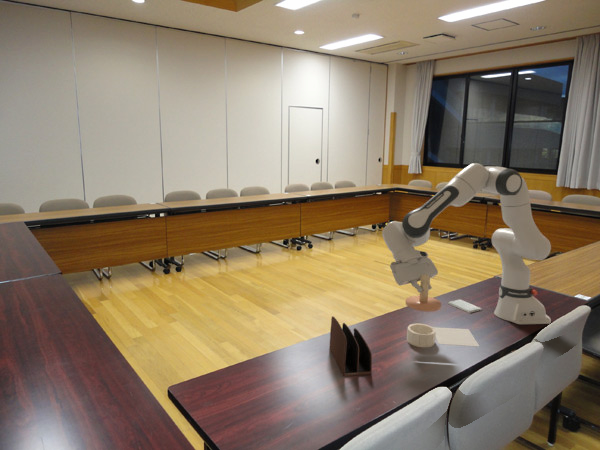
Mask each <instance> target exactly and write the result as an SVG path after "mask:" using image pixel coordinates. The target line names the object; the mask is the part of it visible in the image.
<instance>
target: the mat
mask: <svg viewBox="0 0 600 450" xmlns="http://www.w3.org/2000/svg"><path fill="white" fill-rule="evenodd" d="M432 327H433V328H434V329H435V331H436V335H435V340H436V341H437V343H438V345H447V346H464V347H465V346H466V347H480V345H479V343H478V342H477V340H476V339H475V337H474V335H473V334H472V332H471V331H470V329H469V328H453V327H450V328H449V327H437V326H436V327H435V326H432Z"/></svg>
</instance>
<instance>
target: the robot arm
mask: <svg viewBox="0 0 600 450" xmlns="http://www.w3.org/2000/svg"><path fill="white" fill-rule="evenodd" d="M480 191H482V192H486V193H488V194H491V195H493V194H494V195H499V196H500V199H499V200H500V208H501V209H500V210H501V216H502V221H503V222H504V224H505V225H506V226H507V227H504V228H503V227H502V228H500V227H499V228H498V229H496V230H495V231H494V232H493V233H492V234H491V244H492V246H493V247H494V249H495V250H496V252H497V253H498V255H499V257H500V262H501V267H502V268H501V269H502V271H501V282H500V284H499V289H498V300H497V304H496V307H495V309H494V312H493V314H494V315H495V316H496V317H498V318H499V319H502V320H504V321H507V322H512V323H514V324H517V325H546V324H547V325H549V324H551V323H552V320H551V317H550V316H549V315H547V314H546V307H545V305H544V304H543V303H542V302H541V301H539V300H538V298H536V297H535V296H537V295H538V291H537V290H536V289H533V288H532V287H530V282H531V274H532V273H531V272H532V271H531V269H530V267H529V266H528V265H527V264H526V263H525V261H524V259H523V258H525V259H526V260H531V261H532V260H535V261H536V260H537V261H543V260H545V259H546V258H547V257H548V256H549V255H550V253H551V250H552V245H551V242H550V240H549V239H548V238H547V237H546V236H545V235H544V234H542V232H541V231H540V229H539V227H538V226H537V224H536V223H535V221H534V218H533V213H532V207H531V197H530V191H529V188H528V185H527V182H526V180H525V178H523V177H522V175H521V174H520V173H519V172H518V171H517V170H515V169H512V168H507V167H503V166H497V165H496V166H492V165H491V166H489V165H483V164H481V163H477V162H473V163H470V164H469V165H468V166H465V167H464V168H462V169H461V170H460V171H458V172H457V174H456V175H455V176H453V177H452V178H451V179H450V180H449V181H448V182H447V183H446V184H445V185H444V187H442V188H441V190H439V191H437V193H436V194H435V195H433V196H432V197H431V198H430V199H429V200H427V201H426V202H425V203H423V204H422V205H421V206H420V207H417V208H416V209H413V210H411V211H409V212H408V213H406V214H405V216H404V217H403V218H402V221H397V220H393V221H390V222H389V223H387V224H386V225H385V226H384V228H383V229H382V231H381V236H382V239H383V241H384V243H385V245H386V247H387V249H388V250H389V251H390V252H391V254H392V256H393V260H394V261H392V262H390V264H389V265H390V266H389V268H390V269H391V273H392V276H393V277H394V281H395V282H396V284H397V285H398V286H400V287H401V286H404V285H408V284H410V285H411V286H412V287H413V288H414V289H416V290H417V292H418V293H420V292H422V291H424V289H423V287H422V286H420V284H419V283H418V282H421V281H420V277H421V276H422V275H423V274H427V275H428V276H429V277H430V279H433V278H434V277H436V276H437V275H438V272H439V271H438V269H437V267H436V265H435V263H434V262H433V261H432V259H431V258H430V257H429V254H428V252H427V251H422V250H419V249H416V248H415V247H419V246H421V245H424V244H425V243H427V242H428V240H430V236H431V228H430V227H431V225H432V222H433V220H434V219H435V218H436V217H437V216H438V215H440V214H441V212H443V211H444V210H445V209H447V208H448V207H451V206H452V207H457V208H458V207H459V208H460V207H463V206H464V205H466V204H467V203H469V202H470V201H471V200H472V199H473V198H474V197H476V195H477V194H478V193H479V192H480ZM508 227H509V228H508ZM430 281H431V280H430ZM430 281H429V289H428V291H430V290H431V289H432V285H431V282H430Z"/></svg>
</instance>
